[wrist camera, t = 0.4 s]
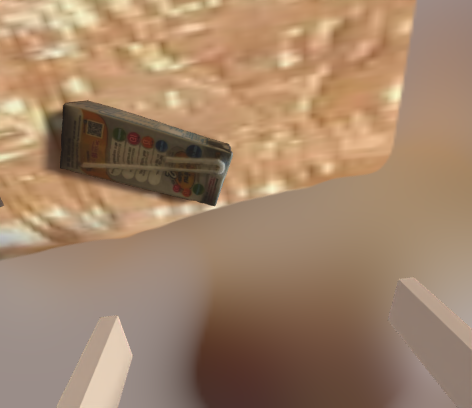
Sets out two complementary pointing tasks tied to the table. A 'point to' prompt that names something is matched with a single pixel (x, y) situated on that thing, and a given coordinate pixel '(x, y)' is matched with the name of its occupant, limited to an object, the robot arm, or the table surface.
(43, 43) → the table surface
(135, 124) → the beverage carton
